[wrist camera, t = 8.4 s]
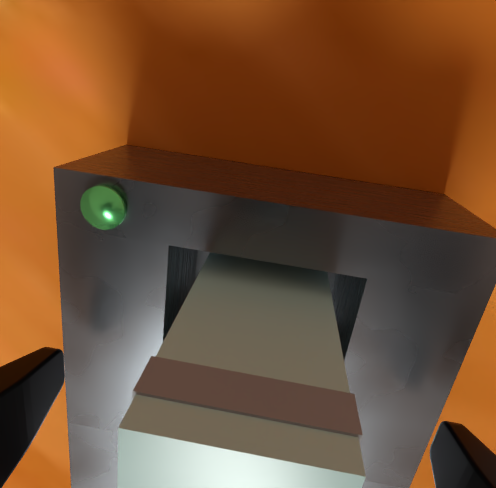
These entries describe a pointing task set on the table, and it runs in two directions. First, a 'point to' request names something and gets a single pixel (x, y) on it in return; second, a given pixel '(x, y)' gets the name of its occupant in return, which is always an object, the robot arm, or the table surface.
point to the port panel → (275, 251)
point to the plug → (246, 388)
